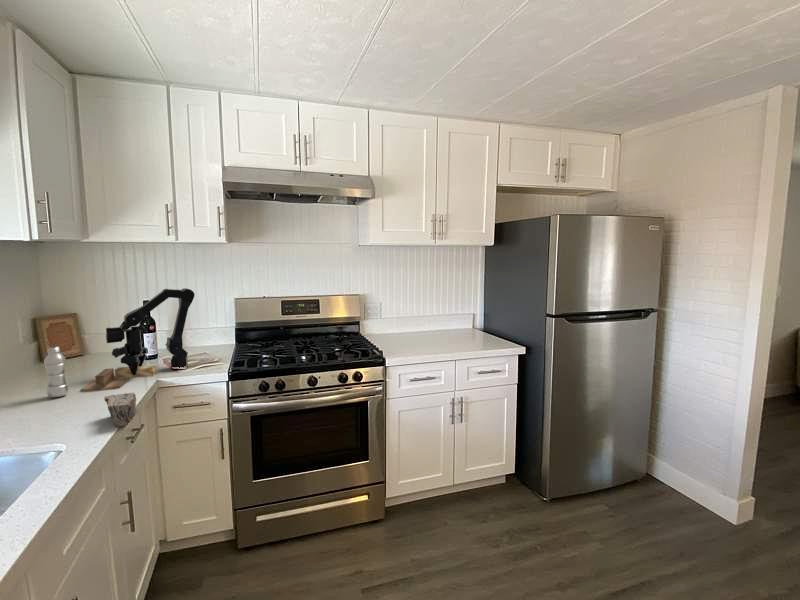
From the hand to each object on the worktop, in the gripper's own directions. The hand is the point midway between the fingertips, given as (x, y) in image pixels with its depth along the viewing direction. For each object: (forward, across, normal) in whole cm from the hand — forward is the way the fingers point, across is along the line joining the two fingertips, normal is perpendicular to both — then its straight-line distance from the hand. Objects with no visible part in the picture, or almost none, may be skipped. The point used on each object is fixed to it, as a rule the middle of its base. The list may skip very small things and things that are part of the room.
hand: (136, 373), depth 195 cm
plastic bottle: (+1, +23, -21) cm, 31 cm away
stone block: (+1, +56, +10) cm, 57 cm away
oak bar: (+1, 0, 0) cm, 1 cm away
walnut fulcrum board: (+1, +13, -8) cm, 15 cm away
